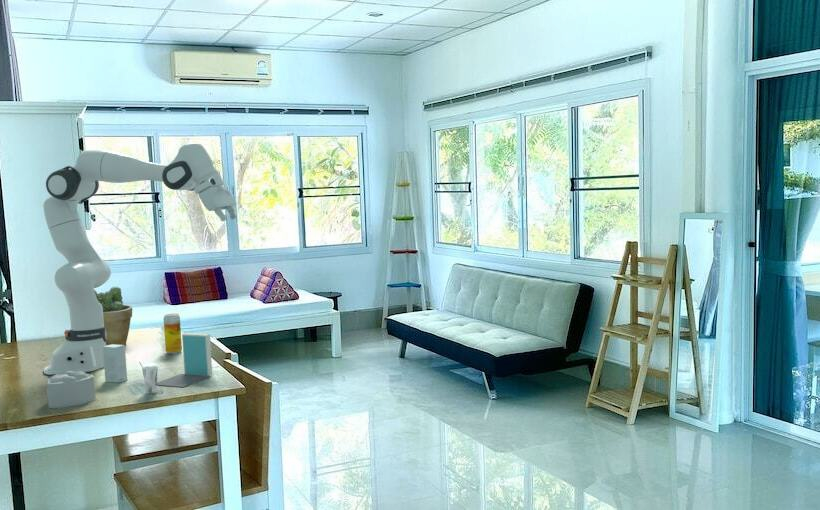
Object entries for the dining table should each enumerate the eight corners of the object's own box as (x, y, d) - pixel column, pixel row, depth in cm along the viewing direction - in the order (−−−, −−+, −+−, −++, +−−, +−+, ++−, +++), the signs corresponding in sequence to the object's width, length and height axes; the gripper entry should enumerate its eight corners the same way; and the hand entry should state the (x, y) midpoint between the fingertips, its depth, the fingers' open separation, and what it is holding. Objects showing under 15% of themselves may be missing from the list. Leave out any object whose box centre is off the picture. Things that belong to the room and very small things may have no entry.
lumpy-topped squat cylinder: (48, 400, 228) (46, 373, 227) (94, 394, 233) (92, 367, 233) (48, 409, 218) (46, 380, 218) (96, 402, 224) (94, 374, 223)
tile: (188, 373, 257) (185, 333, 255) (212, 374, 253) (209, 334, 252) (184, 374, 255) (181, 334, 253) (208, 376, 251) (205, 335, 250)
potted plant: (118, 339, 322) (114, 282, 320) (144, 343, 311) (140, 284, 309) (78, 347, 307) (74, 287, 305) (104, 352, 296) (99, 290, 294)
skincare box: (127, 379, 250) (125, 344, 249) (118, 383, 246) (115, 347, 245) (114, 378, 253) (111, 343, 251) (104, 381, 249) (101, 346, 248)
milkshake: (143, 391, 235) (141, 360, 234) (160, 390, 235) (158, 359, 234) (139, 395, 230) (137, 363, 229) (157, 394, 231) (155, 362, 230)
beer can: (177, 354, 287) (174, 316, 286) (162, 354, 289) (160, 316, 287) (184, 350, 293) (182, 313, 292) (170, 350, 294) (168, 313, 293)
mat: (181, 374, 255) (181, 373, 255) (210, 376, 250) (210, 375, 250) (152, 385, 242) (152, 384, 242) (182, 387, 237) (182, 386, 237)
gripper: (214, 188, 272) (232, 222, 272) (191, 189, 252) (211, 225, 252) (229, 180, 271) (247, 213, 271) (207, 180, 251) (226, 217, 251)
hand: (229, 219), depth 262 cm, fingers open, 8 cm apart
